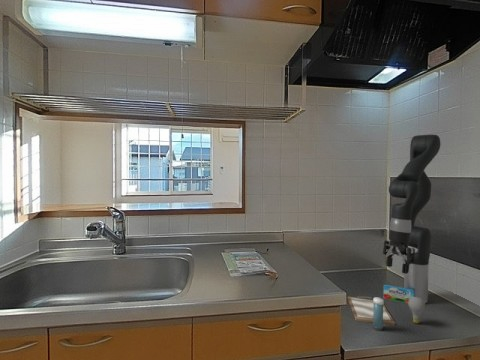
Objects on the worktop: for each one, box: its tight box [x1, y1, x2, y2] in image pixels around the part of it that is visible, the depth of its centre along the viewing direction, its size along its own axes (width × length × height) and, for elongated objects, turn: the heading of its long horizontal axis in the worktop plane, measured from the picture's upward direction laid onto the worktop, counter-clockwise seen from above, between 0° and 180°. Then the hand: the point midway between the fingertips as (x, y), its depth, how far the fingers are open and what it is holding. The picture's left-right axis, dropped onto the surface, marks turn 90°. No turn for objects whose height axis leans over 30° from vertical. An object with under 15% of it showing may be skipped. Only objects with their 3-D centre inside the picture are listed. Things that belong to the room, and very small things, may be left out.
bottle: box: [372, 296, 385, 332], centre depth 106 cm, size 3×3×11 cm
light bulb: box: [408, 297, 426, 324], centre depth 110 cm, size 6×6×10 cm
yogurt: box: [382, 284, 414, 305], centre depth 129 cm, size 12×2×6 cm, turn 61°
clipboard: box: [347, 295, 396, 326], centre depth 120 cm, size 20×14×2 cm
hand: (396, 269), depth 116 cm, fingers open, 8 cm apart
